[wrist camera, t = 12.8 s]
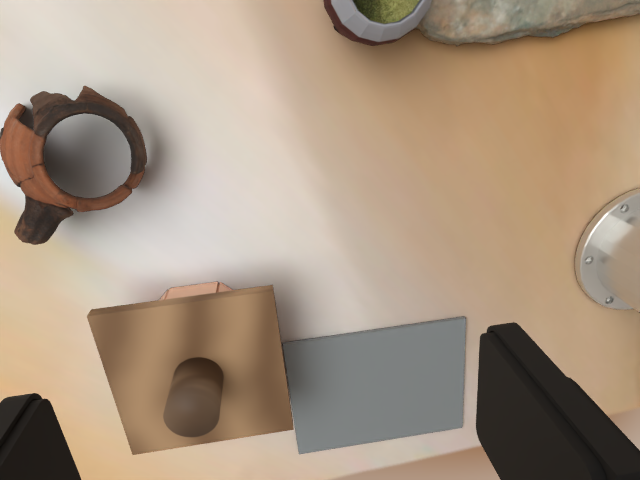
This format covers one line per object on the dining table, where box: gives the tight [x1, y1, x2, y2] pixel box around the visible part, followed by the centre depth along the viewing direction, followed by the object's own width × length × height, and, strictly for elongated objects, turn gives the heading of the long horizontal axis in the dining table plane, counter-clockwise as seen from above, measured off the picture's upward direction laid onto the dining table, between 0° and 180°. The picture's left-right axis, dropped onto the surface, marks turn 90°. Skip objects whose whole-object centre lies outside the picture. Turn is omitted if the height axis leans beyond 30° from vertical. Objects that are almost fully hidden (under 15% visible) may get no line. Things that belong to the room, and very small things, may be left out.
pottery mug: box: [0, 86, 147, 245], centre depth 35 cm, size 12×10×8 cm
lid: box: [87, 285, 293, 455], centre depth 37 cm, size 14×14×5 cm
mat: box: [283, 316, 466, 454], centre depth 49 cm, size 18×14×1 cm
